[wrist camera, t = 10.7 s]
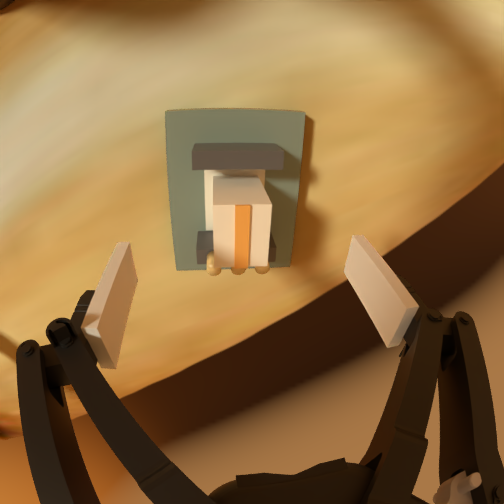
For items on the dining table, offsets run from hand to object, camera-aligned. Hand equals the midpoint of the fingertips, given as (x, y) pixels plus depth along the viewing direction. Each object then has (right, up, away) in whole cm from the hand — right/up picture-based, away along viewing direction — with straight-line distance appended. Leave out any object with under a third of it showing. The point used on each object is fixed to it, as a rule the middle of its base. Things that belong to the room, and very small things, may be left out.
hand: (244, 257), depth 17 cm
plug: (-1, +5, +10) cm, 11 cm away
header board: (-1, +6, +11) cm, 13 cm away
